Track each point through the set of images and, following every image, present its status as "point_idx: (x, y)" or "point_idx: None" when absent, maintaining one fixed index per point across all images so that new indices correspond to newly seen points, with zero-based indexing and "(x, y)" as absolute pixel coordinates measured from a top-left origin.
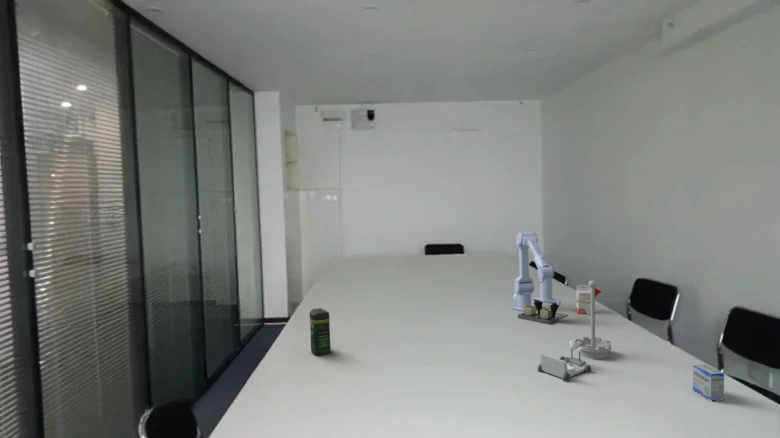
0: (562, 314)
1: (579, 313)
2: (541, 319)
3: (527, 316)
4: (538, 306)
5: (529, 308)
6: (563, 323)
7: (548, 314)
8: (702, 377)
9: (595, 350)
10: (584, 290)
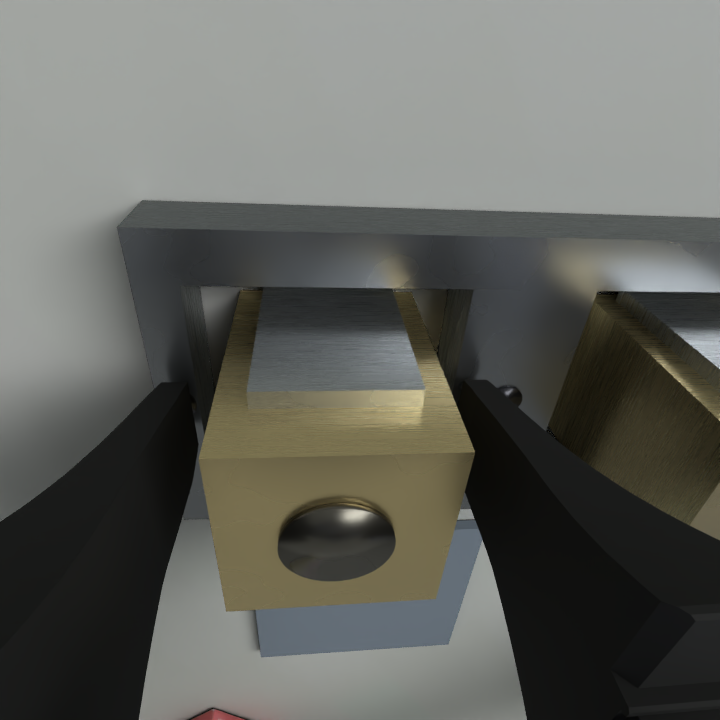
0: (307, 639)
1: (205, 716)
2: (344, 232)
3: (694, 250)
4: (568, 543)
5: None
6: (47, 411)
7: (215, 399)
8: None
9: None
10: None
